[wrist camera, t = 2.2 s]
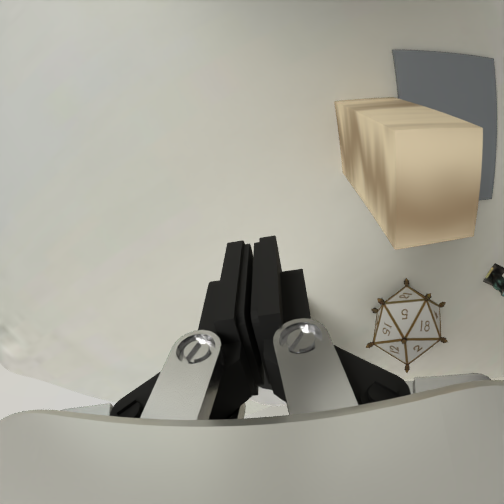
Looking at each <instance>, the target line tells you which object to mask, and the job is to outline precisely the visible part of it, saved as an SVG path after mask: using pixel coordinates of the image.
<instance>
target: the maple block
mask: <svg viewBox="0 0 504 504" xmlns="http://www.w3.org/2000/svg"><path fill="white" fill-rule="evenodd" d="M335 109H336V116H337V124H338V132H339V140H340V149H341V159H342V169H343V174H344V175H345V176H346V178H347V179H348V181H349V182H350V183H351V185H352V186H353V188H354V189H355V190H356V192H357V193H358V195H359V196H360V197H361V199H362V200H363V202H364V203H365V205H366V206H367V208H368V209H369V211H370V212H371V213H372V215H373V216H374V218H375V219H376V221H377V222H378V224H379V226H380V227H381V229H382V230H383V232H384V233H385V235H386V236H387V238H388V239H389V241H390V243H391V244H392V246H393V247H394V249H395V250H397V249H403V248H409V247H415V246H421V245H427V244H433V243H438V242H444V241H450V240H456V239H461V238H467V237H472V236H474V230H475V224H476V217H477V209H478V201H479V192H480V181H481V168H482V149H483V128H482V127H479V126H477V125H474V124H472V123H469V122H467V121H464V120H462V119H459V118H456V117H454V116H451V115H448V114H445V113H443V112H440V111H437V110H434V109H431V108H428V107H425V106H422V105H418V104H415V103H412V102H408V101H405V100H402V99H398V98H394V97H388V98H369V99H355V100H343V101H335Z"/></svg>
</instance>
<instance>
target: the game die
mask: <svg viewBox="0 0 504 504" xmlns="http://www.w3.org/2000/svg"><path fill="white" fill-rule="evenodd" d="M404 284H405V287H404V288H402V289H401V290H400V291H398V292H397V293H396V294H394V295H393V296H392V297H390V298H389V299H388V300H386V301H385V302H384V300H383V299H382V298H381V299H380V298H378V303H380V304H382V305H381V307H380V308H379V310H378V309H376V308H374V309H372V311H373V313H377V316H376V324H375V331H374V338H373V342H370V343H368V344H367V346H366V348H370V347H372V346H373V345H375V346H377V347H379V348H380V349H382V350H383V351H385V352H387V353H388V354H390V355H391V356H393V357H395V358H396V359H398V360H399V361H401V362H403V363H404V364H406V366H405V369H404V370H405V371H406V373H407V372H408V371H409V370H410V369H409V364H410V363H411V362H413V361H414V360H415V359H417V358H418V357H419V356H421V355H422V354H423V353H425V352H426V351H427V350H428V349H430V348H431V347H433V345H435V344H436V343H437V342H438V341H441V342H443V343H446V342H448V341H447V340H446V338H444V337H441V321H440V307H443V306H444V305H445V303H446V302H441V303H440V304H439V305H438V304H436V303H435V302H433V301H432V300H430V298H431V293H430V294H426V296H424V295H422V294H420V293H419V292H417V291H415V290H414V289H412V288H410V287H409V286H408V284H409V281H408V280H407V278H406V279H405V281H404Z"/></svg>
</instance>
